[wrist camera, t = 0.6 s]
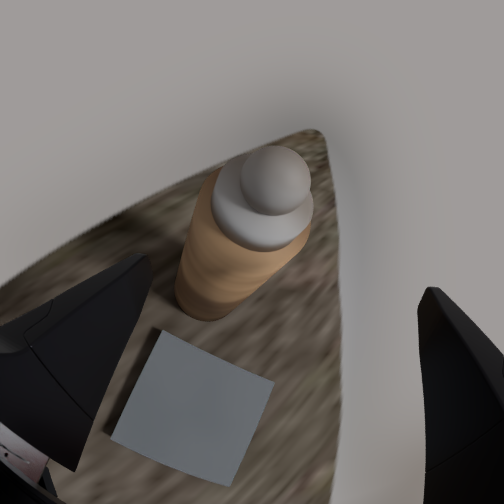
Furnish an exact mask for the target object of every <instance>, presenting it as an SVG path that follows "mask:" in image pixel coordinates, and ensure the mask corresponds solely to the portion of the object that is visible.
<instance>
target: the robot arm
mask: <svg viewBox="0 0 504 504" xmlns="http://www.w3.org/2000/svg"><path fill="white" fill-rule="evenodd" d="M152 281H153V271H152V267H151V263H150V259H149V257H148V255H146V254H140V253H136V254H134V255H132V256H130V257H128V258H126V259H124V260H122V261H120V262H118V263H117V264H115V265H113V266H111V267H109V268H107V269H105V270H103V271H102V272H100V273H98V274H96V275H94V276H92V277H90V278H89V279H87V280H85V281H83V282H81V283H80V284H78V285H76V286H74V287H72V288H71V289H69V290H67V291H65V292H63V293H62V294H60V295H58V296H56V297H55V298H54V299H51V300H49V301H48V302H46V303H44V304H42V305H41V306H39V307H37V308H35V309H33V310H32V311H30V312H28V313H26V314H24V315H22V316H20V317H18V318H16V319H14V320H12V321H10V322H8V323H6V324H4V325H2V326H0V504H66V503H65V502H63V501H61V500H60V499H58V498H57V497H58V496H57V494H56V491H55V488H54V485H53V482H52V479H51V476H50V473H49V469H48V468H47V467H46V465H47V463H48V461H49V459H50V458H51V459H52V460H54V461H56V462H57V463H59V464H60V465H62V466H64V467H66V468H67V469H69V470H71V471H73V472H75V471H76V468H77V466H78V463H79V460H80V457H81V454H82V452H83V449H84V446H85V443H86V441H87V438H88V435H89V433H90V430H91V428H92V425H93V421H94V419H95V417H96V414H97V412H98V409H99V407H100V404H101V402H102V399H103V397H104V395H105V392H106V390H107V388H108V385H109V383H110V380H111V378H112V376H113V374H114V371H115V369H116V367H117V364H118V362H119V360H120V358H121V355H122V353H123V351H124V349H125V347H126V344H127V342H128V340H129V338H130V336H131V334H132V332H133V329H134V327H135V325H136V323H137V321H138V319H139V316H140V314H141V311H142V308H143V306H144V303H145V300H146V297H147V295H148V292H149V289H150V286H151V284H152ZM417 315H418V334H419V355H420V365H421V373H422V383H423V393H424V394H423V395H424V409H425V434H426V466H425V472H426V473H425V486H424V501H423V504H504V355H503V354H502V353H501V352H500V350H499V349H498V348H497V347H496V346H495V345H494V344H493V343H492V341H491V340H490V339H489V338H488V337H487V336H486V335H485V334H484V333H483V332H482V331H481V329H480V328H479V327H478V326H477V325H476V324H475V323H474V322H473V321H472V320H471V319H470V318H469V317H468V316H467V315H466V314H465V313H464V312H463V311H462V310H461V309H460V308H459V307H458V306H457V305H456V304H455V303H454V302H453V301H452V300H451V299H450V298H449V297H448V296H447V295H446V294H445V293H444V292H443V291H442V290H441V289H440V288H438V287H427V288H426V290H425V292H424V294H423V296H422V299H421V301H420V303H419V305H418V310H417Z"/></svg>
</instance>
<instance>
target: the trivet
mask: <svg viewBox="0 0 504 504" xmlns="http://www.w3.org/2000/svg"><path fill="white" fill-rule="evenodd" d="M274 383H275V382H272V381H270V380H267V379H265V378H263V377H260V376H258V375H256V374H253V373H251V372H249V371H246V370H244V369H242V368H239V367H237V366H235V365H233V364H231V363H228V362H226V361H224V360H222V359H220V358H218V357H215V356H213V355H211V354H209V353H207V352H205V351H203V350H201V349H199V348H197V347H195V346H193V345H191V344H189V343H187V342H185V341H183V340H181V339H179V338H177V337H175V336H173V335H171V334H170V333H168V332H166V331H164V330H162V332H161V334H160V336H159V338H158V340H157V342H156V344H155V346H154V348H153V350H152V352H151V354H150V356H149V358H148V360H147V362H146V364H145V366H144V368H143V370H142V372H141V375H140V377H139V379H138V381H137V383H136V385H135V387H134V389H133V391H132V393H131V395H130V397H129V399H128V402H127V404H126V406H125V408H124V410H123V412H122V414H121V417H120V419H119V421H118V423H117V425H116V427H115V430H114V432H113V434H112V436H111V438H110V439H111V440H113V441H115V442H117V443H119V444H121V445H123V446H125V447H127V448H129V449H131V450H133V451H135V452H137V453H139V454H141V455H143V456H146V457H148V458H150V459H152V460H155V461H157V462H159V463H162V464H164V465H167V466H169V467H172V468H174V469H177V470H179V471H182V472H185V473H187V474H190V475H193V476H196V477H199V478H202V479H205V480H208V481H211V482H214V483H217V484H221V485H224V486H227V487H230V485H231V483H232V481H233V479H234V476H235V474H236V472H237V470H238V468H239V466H240V463H241V461H242V459H243V457H244V455H245V452H246V450H247V448H248V446H249V443H250V441H251V439H252V437H253V434H254V432H255V430H256V427H257V425H258V423H259V420H260V418H261V415H262V413H263V411H264V408H265V406H266V403H267V401H268V398H269V396H270V393H271V391H272V388H273V386H274Z"/></svg>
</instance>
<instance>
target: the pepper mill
mask: <svg viewBox="0 0 504 504" xmlns="http://www.w3.org/2000/svg"><path fill="white" fill-rule="evenodd" d="M310 184H311V178H310V172H309V169H308V167H307V165H306V163H305V161H304V160H303V159H302V158H301V157H300V156H299V155H298V154H297V153H296V152H294V151H293V150H291V149H289V148H286V147H282V146H268V147H264V148H261V149H259V150H257V151H256V152H254V153H253V154H244V155H240V156H237V157H235V158H233V159H232V160H230V161H229V162H227V163H226V164H225V165H224V166H222V167H220V168H218V169H217V170H215V171H214V172H213V173H211V174H210V175H209V176H208V178H207V179H206V180H205V181H204V183H203V185H202V187H201V190H200V193H199V196H198V199H197V203H196V206H195V209H194V213H193V216H192V220H191V223H190V227H189V230H188V234H187V238H186V241H185V245H184V249H183V252H182V256H181V260H180V264H179V268H178V272H177V276H176V280H175V284H174V293H175V298H176V300H177V303H178V304H179V306H180V308H181V309H182V310H183V311H184V312H185V313H186V314H187V315H189V316H190V317H192V318H194V319H196V320H200V321H207V322H210V321H216V320H219V319H221V318H223V317H225V316H226V315H228V314H229V313H230V312H231V311H232V310H233V309H235V308H236V307H237V306H238V305H239V304H240V303H242V302H243V301H244V300H245V299H246V298H247V297H248V296H250V295H251V294H252V293H253V292H254V291H255V290H256V289H258V288H259V287H260V286H261V285H262V284H263V283H264V282H266V281H267V280H268V279H269V278H270V277H271V276H272V275H274V274H275V273H276V272H277V271H278V270H279V269H280V268H281V267H283V266H284V265H285V264H286V263H287V262H288V261H289V260H290V259H292V258H293V257H294V256H295V255H296V254H297V253H298V252H299V251H300V250H301V249H302V248H303V246H304V245H305V243H306V241H307V239H308V237H309V233H310V226H311V218H312V214H313V199H312V195H311V192H310Z"/></svg>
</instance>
